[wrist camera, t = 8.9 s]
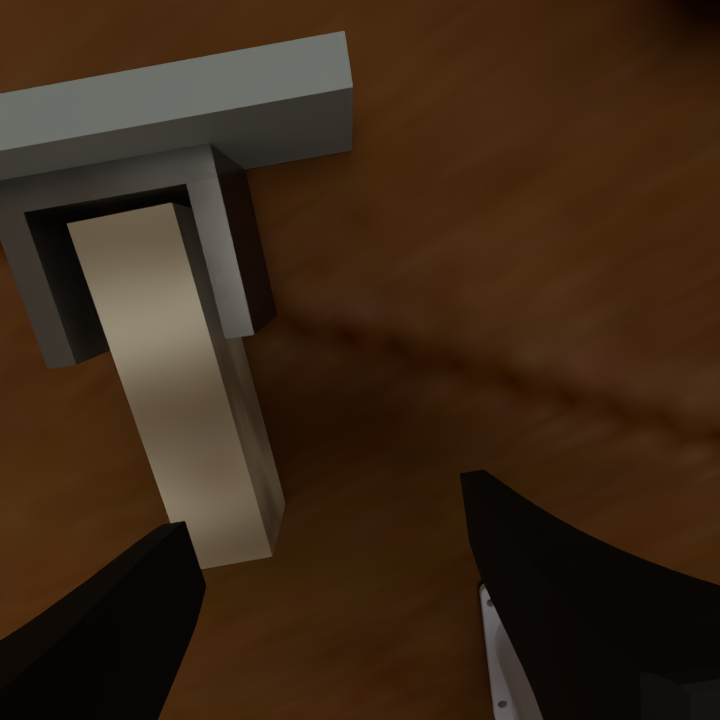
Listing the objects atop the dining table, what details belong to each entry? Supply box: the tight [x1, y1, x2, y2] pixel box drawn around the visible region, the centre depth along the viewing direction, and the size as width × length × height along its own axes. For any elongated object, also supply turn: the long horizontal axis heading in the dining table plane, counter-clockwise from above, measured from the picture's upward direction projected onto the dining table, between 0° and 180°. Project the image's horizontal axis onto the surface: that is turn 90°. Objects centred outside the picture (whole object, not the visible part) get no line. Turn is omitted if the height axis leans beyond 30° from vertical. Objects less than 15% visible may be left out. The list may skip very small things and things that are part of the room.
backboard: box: [0, 31, 353, 180], centre depth 14 cm, size 1×16×7 cm, turn 100°
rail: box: [67, 203, 286, 569], centre depth 18 cm, size 14×4×4 cm, turn 11°
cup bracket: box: [0, 143, 277, 369], centre depth 16 cm, size 6×7×4 cm
